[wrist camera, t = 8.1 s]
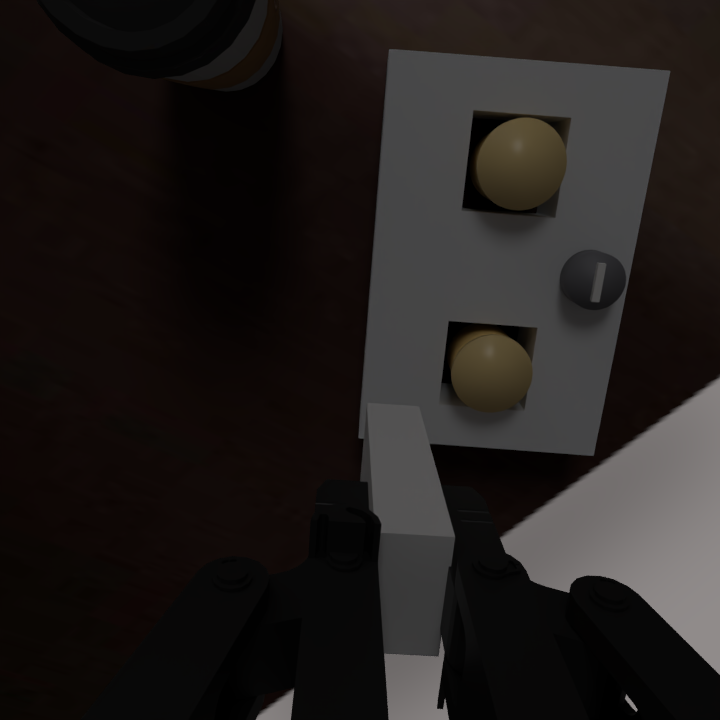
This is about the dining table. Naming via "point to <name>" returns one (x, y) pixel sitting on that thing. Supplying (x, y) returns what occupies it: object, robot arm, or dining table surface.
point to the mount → (506, 242)
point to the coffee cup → (176, 37)
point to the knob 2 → (488, 368)
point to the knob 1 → (519, 164)
